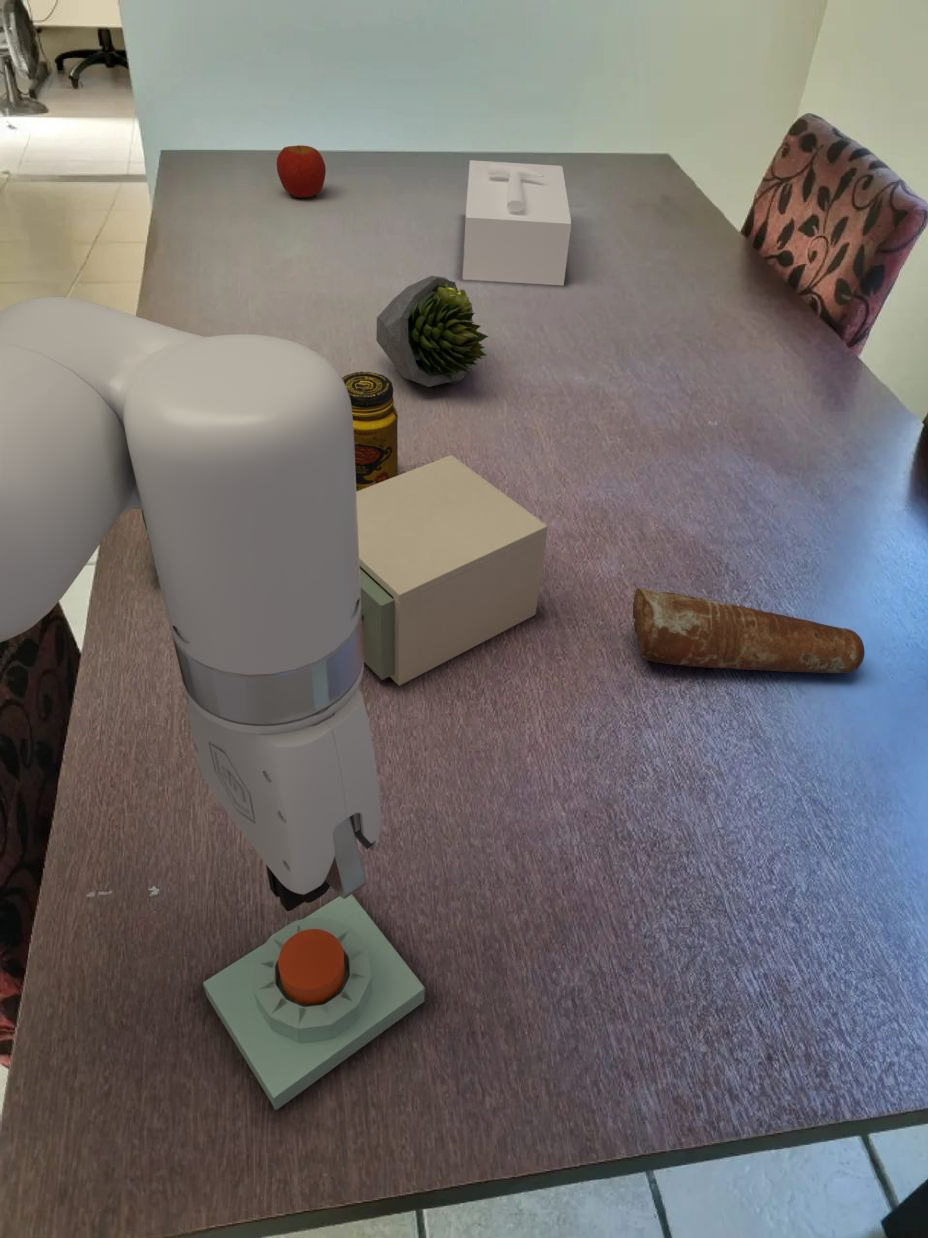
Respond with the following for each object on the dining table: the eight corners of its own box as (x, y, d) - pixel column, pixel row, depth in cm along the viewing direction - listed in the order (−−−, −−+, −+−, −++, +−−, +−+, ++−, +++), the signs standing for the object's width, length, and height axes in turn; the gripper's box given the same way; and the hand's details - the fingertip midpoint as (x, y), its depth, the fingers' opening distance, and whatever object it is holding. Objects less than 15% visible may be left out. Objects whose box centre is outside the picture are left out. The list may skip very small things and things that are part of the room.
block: (276, 1111, 51) (270, 1084, 48) (206, 996, 55) (198, 967, 53) (424, 1001, 55) (426, 973, 53) (349, 904, 60) (347, 874, 58)
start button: (302, 1017, 51) (300, 1002, 50) (268, 967, 53) (265, 952, 52) (357, 979, 53) (356, 964, 52) (322, 932, 55) (321, 917, 54)
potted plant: (461, 313, 117) (540, 327, 106) (408, 400, 117) (481, 422, 106) (398, 248, 109) (476, 256, 98) (340, 341, 109) (411, 359, 98)
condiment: (346, 518, 90) (341, 407, 82) (316, 472, 96) (309, 364, 88) (415, 502, 93) (418, 393, 85) (382, 458, 98) (381, 352, 90)
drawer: (335, 704, 71) (330, 629, 66) (260, 621, 78) (250, 547, 72) (512, 613, 80) (520, 540, 75) (431, 545, 86) (434, 474, 81)
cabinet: (398, 686, 74) (399, 594, 68) (313, 600, 81) (307, 510, 75) (536, 614, 81) (548, 525, 75) (447, 541, 88) (451, 454, 82)
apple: (306, 206, 152) (303, 155, 146) (268, 196, 154) (264, 144, 149) (335, 194, 157) (333, 144, 151) (298, 184, 159) (295, 134, 154)
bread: (625, 623, 81) (636, 573, 77) (848, 648, 80) (870, 599, 76) (626, 675, 76) (638, 625, 73) (863, 702, 76) (888, 652, 72)
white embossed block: (555, 222, 152) (563, 149, 145) (563, 285, 134) (573, 206, 126) (466, 216, 152) (470, 144, 145) (462, 279, 133) (466, 199, 126)
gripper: (107, 583, 41) (176, 831, 53) (288, 806, 33) (321, 1038, 45) (258, 522, 45) (290, 767, 57) (456, 709, 36) (443, 948, 49)
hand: (304, 886), depth 51 cm, fingers closed
